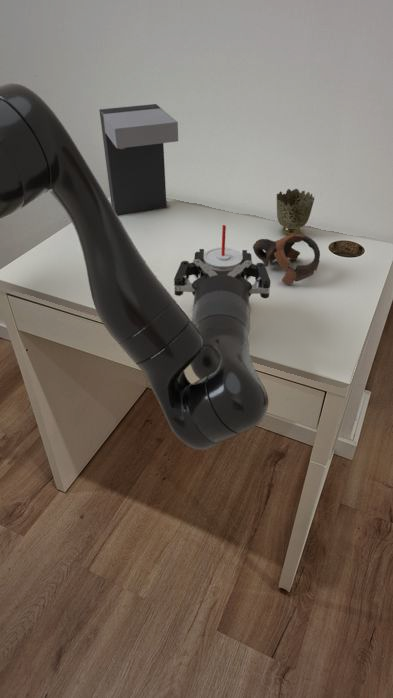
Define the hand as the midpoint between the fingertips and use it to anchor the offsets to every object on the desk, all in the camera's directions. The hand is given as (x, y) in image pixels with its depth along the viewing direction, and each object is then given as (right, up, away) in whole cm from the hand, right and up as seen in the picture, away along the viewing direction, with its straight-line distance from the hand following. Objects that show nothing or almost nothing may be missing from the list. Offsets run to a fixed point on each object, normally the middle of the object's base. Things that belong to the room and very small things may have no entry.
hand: (222, 254), depth 76 cm
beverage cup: (0, -8, +3) cm, 9 cm away
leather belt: (+12, -1, +13) cm, 17 cm away
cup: (+16, +9, +25) cm, 31 cm away
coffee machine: (-16, +15, +31) cm, 38 cm away
